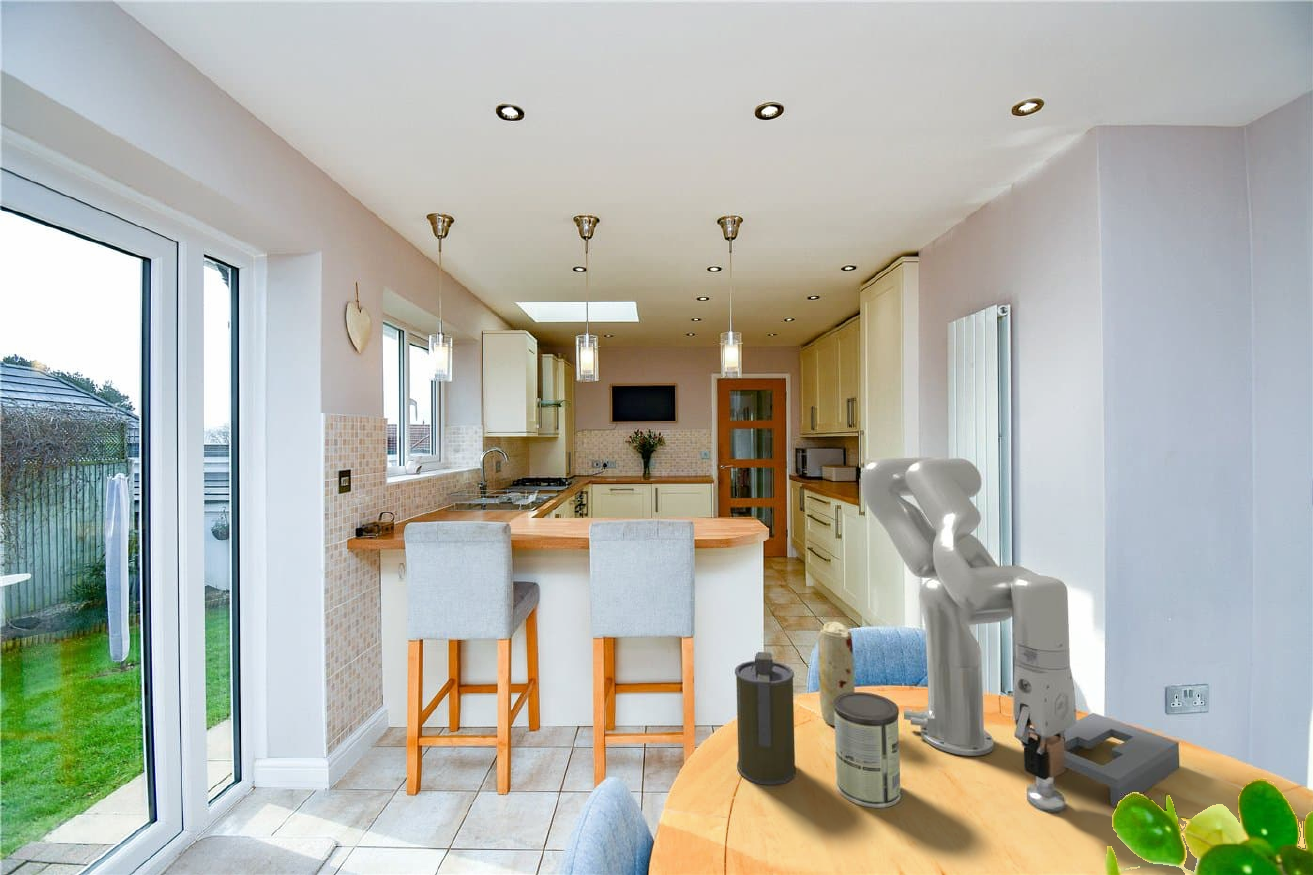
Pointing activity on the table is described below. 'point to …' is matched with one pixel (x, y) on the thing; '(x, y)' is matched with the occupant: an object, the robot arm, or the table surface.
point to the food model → (834, 666)
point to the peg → (1049, 778)
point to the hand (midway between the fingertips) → (1044, 769)
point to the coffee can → (867, 749)
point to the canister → (765, 721)
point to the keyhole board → (1121, 755)
